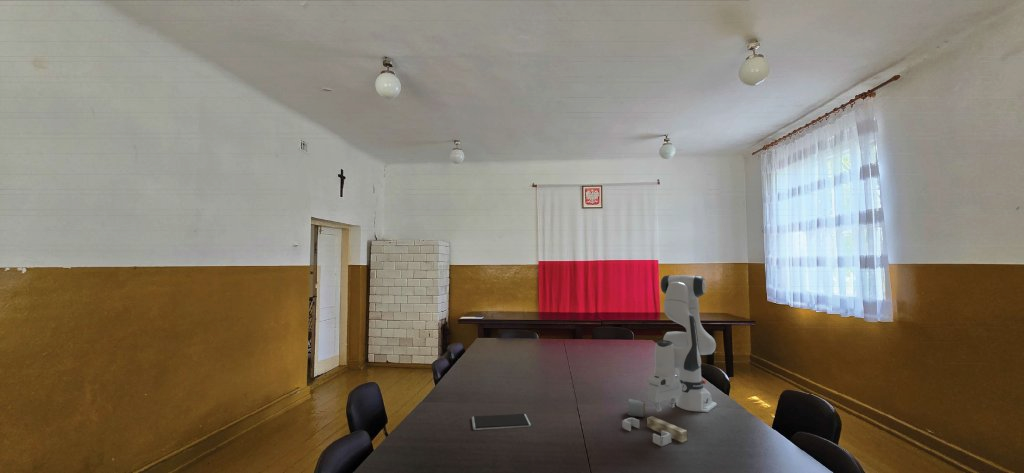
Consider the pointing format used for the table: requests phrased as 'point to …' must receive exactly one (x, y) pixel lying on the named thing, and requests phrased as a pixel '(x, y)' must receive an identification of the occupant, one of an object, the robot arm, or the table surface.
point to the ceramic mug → (636, 408)
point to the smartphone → (500, 421)
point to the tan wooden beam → (667, 428)
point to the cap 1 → (630, 423)
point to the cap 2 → (662, 438)
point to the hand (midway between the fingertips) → (665, 409)
